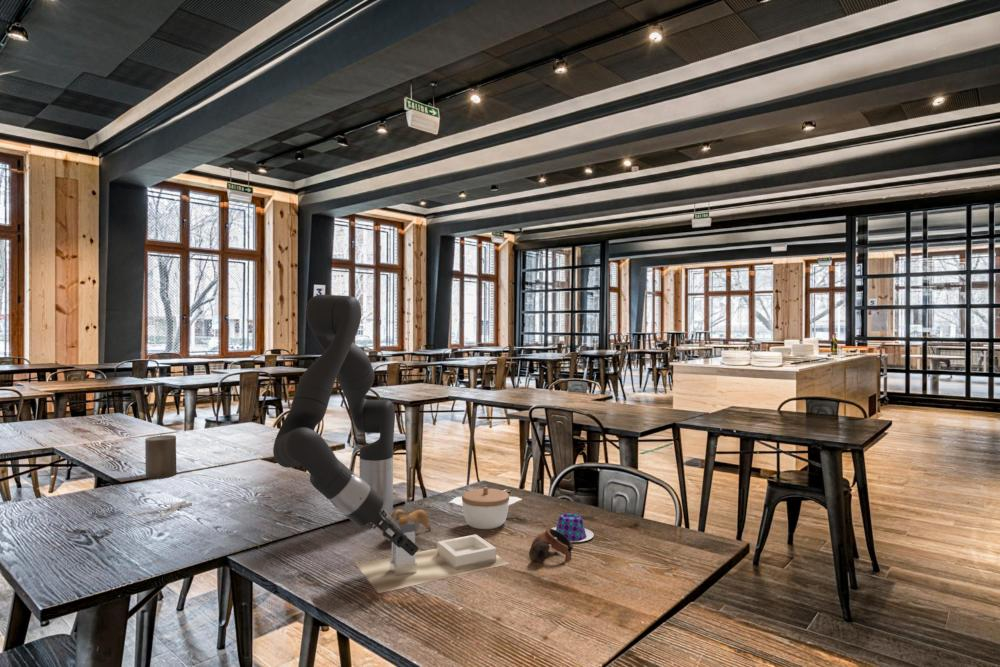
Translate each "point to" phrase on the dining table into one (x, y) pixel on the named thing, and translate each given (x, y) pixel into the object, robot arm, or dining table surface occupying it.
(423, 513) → the lion figurine
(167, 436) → the pillar candle
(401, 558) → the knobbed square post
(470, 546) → the box
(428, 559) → the board
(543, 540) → the pottery mug
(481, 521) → the lidded bowl
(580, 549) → the dining table surface
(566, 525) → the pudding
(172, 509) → the pliers
